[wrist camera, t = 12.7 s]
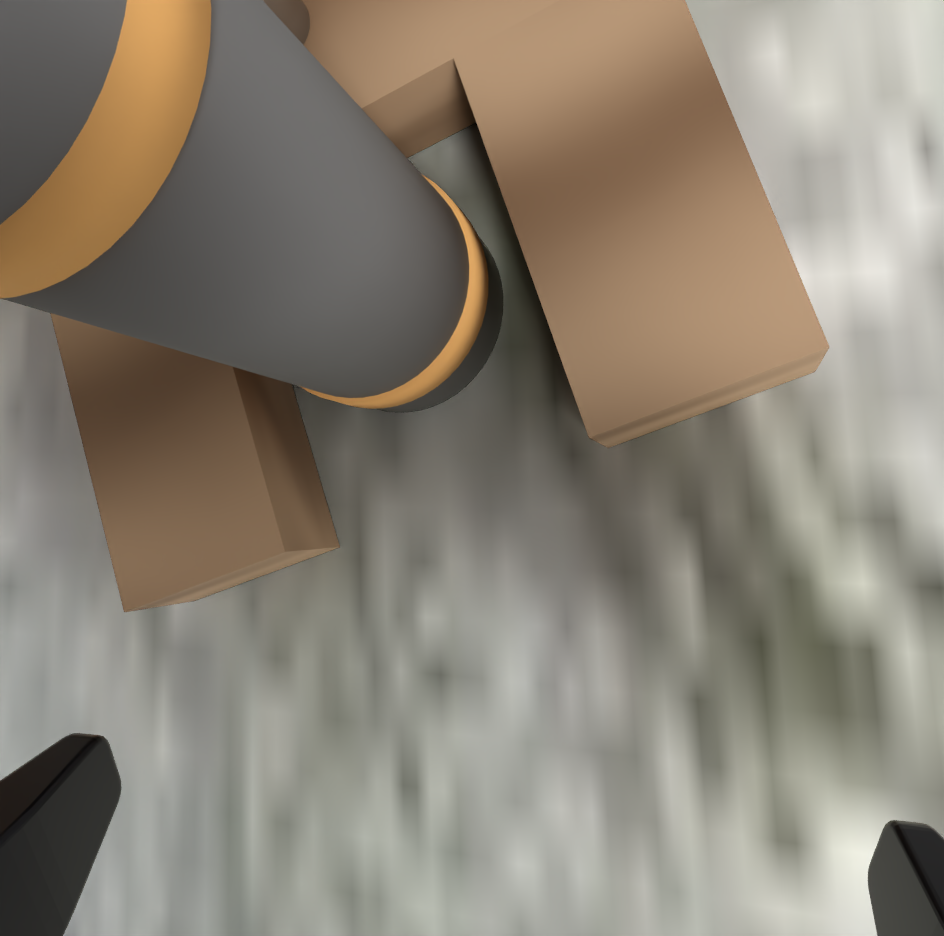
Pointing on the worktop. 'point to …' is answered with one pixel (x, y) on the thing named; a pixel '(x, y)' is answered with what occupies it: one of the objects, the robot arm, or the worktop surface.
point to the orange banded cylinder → (230, 203)
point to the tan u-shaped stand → (542, 242)
